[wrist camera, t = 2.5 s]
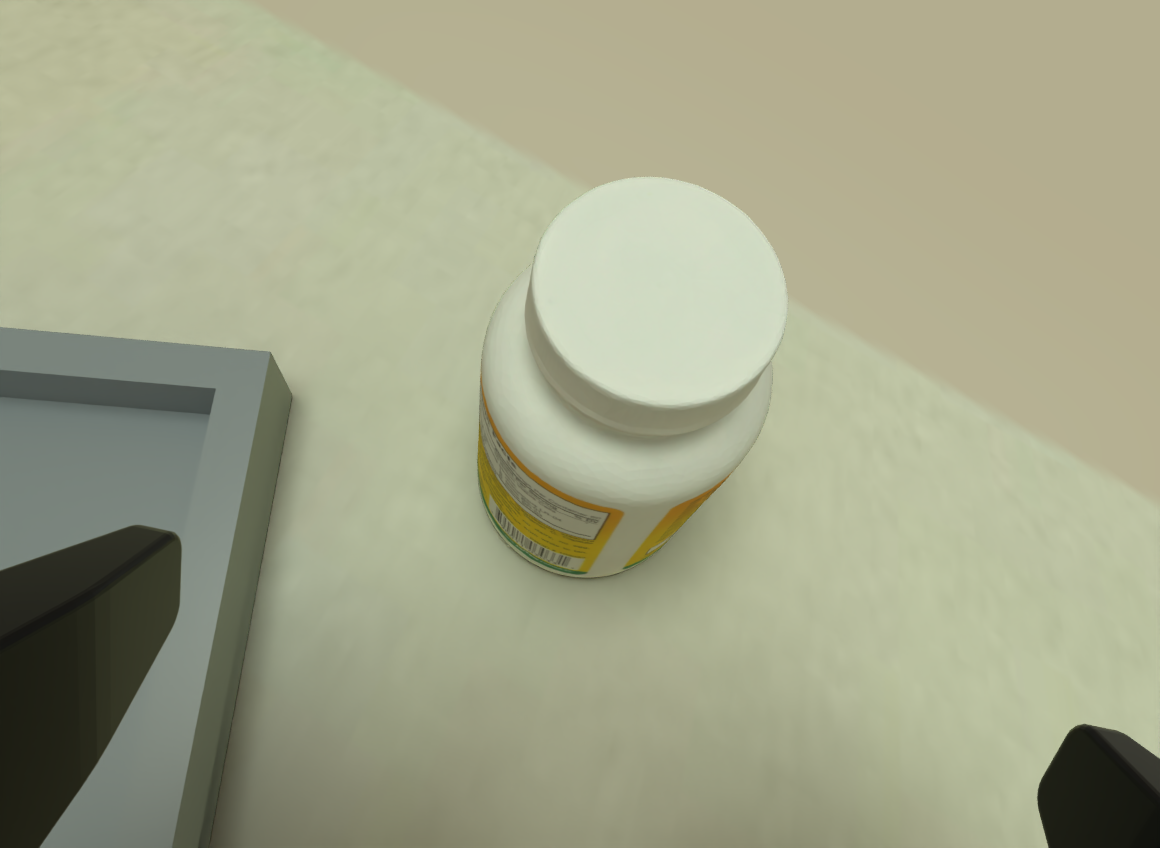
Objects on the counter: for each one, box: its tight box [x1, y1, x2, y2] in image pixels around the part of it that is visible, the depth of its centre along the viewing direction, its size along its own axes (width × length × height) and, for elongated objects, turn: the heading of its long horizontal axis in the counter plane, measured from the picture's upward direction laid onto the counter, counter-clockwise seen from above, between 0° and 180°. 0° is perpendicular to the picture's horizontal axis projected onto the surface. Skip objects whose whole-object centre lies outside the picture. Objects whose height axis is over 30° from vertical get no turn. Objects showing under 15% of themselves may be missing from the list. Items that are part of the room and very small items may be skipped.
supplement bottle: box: [477, 177, 788, 578], centre depth 18 cm, size 5×5×10 cm
